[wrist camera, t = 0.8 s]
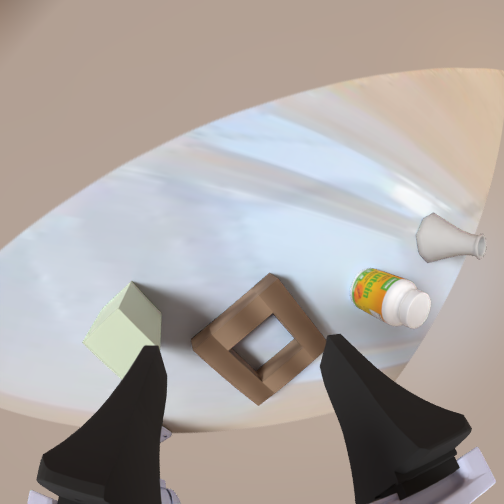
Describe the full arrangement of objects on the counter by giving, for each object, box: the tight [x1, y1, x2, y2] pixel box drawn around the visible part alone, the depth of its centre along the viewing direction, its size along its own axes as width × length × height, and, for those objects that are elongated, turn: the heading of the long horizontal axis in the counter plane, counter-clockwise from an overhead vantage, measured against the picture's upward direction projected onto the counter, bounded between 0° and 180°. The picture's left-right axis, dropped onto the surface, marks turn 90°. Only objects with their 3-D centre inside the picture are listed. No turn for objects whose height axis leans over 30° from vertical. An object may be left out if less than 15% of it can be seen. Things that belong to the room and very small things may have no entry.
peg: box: [82, 281, 162, 379], centre depth 23 cm, size 4×4×8 cm
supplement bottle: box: [350, 268, 431, 329], centre depth 30 cm, size 5×5×10 cm
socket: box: [191, 273, 326, 406], centre depth 30 cm, size 11×11×2 cm
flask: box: [416, 213, 487, 263], centre depth 32 cm, size 7×7×10 cm
